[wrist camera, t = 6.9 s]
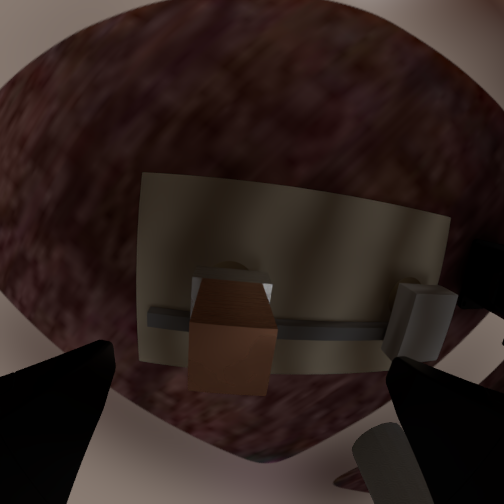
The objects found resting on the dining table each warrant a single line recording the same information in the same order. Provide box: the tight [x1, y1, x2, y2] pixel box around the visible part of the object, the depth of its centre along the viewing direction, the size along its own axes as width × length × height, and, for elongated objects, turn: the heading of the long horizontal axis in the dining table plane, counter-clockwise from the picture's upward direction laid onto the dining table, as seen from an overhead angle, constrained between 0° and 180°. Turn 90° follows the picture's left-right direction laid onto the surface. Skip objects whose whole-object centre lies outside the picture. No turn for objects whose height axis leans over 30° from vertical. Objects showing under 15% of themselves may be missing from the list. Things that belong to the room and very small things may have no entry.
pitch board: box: [136, 172, 458, 374], centre depth 18 cm, size 22×13×5 cm, turn 83°
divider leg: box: [188, 265, 278, 396], centre depth 14 cm, size 4×5×8 cm
